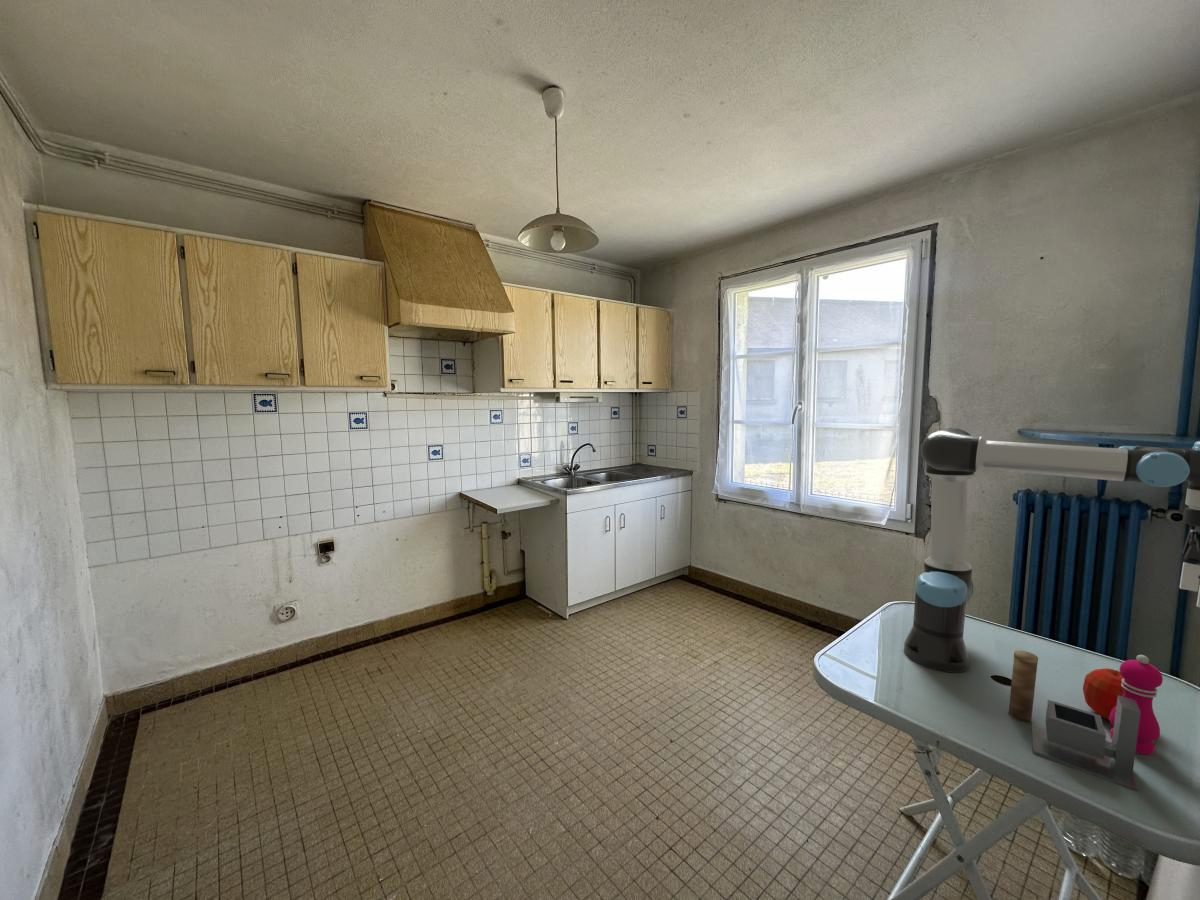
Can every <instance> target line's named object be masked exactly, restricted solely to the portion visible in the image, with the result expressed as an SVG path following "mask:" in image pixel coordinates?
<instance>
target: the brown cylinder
mask: <svg viewBox="0 0 1200 900" xmlns="http://www.w3.org/2000/svg"><path fill="white" fill-rule="evenodd" d="M1038 663H1039V657H1038V656H1037V655H1036V654H1034V653H1032V652H1030V651H1026V650H1021V649H1020V650H1019V649H1017V650H1014V651H1013V664H1012V674H1011V684H1010V693H1009V703H1008V704H1009V705H1008V715H1009V716H1010V717H1011V718H1012V719H1014V720H1016V721H1017V722H1022V723H1031V722H1032V719H1033V718H1032V717H1033V709H1034V708H1033V707H1034V698H1035V691H1036V680H1037V672H1038Z"/></svg>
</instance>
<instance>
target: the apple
mask: <svg viewBox="0 0 1200 900" xmlns="http://www.w3.org/2000/svg"><path fill="white" fill-rule="evenodd" d="M1122 679H1124V678H1123V676H1122V675H1121V673H1120V670H1117V669H1116V670H1115V669H1113V668H1098V669H1093V670H1092V671H1090V672H1089V673H1087V674H1085V677H1084V682H1083V684H1082V693H1083V696H1084V701H1085V703H1086V705H1087V706H1088V707H1089V708H1090V709H1091V710H1093V711H1094V712H1095V714H1097V715H1101V718H1104V719H1106V720H1108V721H1110V720H1109V716H1110V713H1111V711H1112V709H1113V708H1114V707H1115V706H1116V705H1117V698H1118V695H1119V696H1123V693H1124V688H1123V687H1122V686H1121V683H1122Z"/></svg>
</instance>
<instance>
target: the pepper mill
mask: <svg viewBox="0 0 1200 900" xmlns="http://www.w3.org/2000/svg"><path fill="white" fill-rule="evenodd" d="M1135 658H1136V659H1127V660H1124V661H1123V662H1122V663H1121V664H1120V666H1119V672H1120V673H1121V675H1122V676H1123V678H1124V679H1122V683H1121V686H1122V687H1123V688H1124V693H1123V697H1127V698H1130V699H1134V700H1136V702H1137V705H1138V707H1139V710H1140V712H1141V713H1140V721H1139V729H1138V736H1137V744H1136V751H1135V754H1136V753H1137V754H1141V755H1152V754H1154V752H1155V747H1156V745H1155V742H1154V741H1157V740H1159V738H1160V737H1161V727H1160V724H1159V721H1158V720H1157V717H1156V714H1155V712H1154V708H1153V699H1155V698H1156V697H1157V695H1158V694H1157V693H1158V689H1157V688H1158V687H1160V686H1162V685H1163V681H1164V680H1163V679H1164V678H1163V674H1162V672H1161V671H1160V670H1159V669H1158V668H1157V667H1156V666H1155V665H1153V664H1151V663H1150V659H1149V657H1147V656H1146V655H1144V654H1138V655H1137V656H1136V657H1135ZM1116 706H1117V705H1116ZM1116 706H1115V707H1114V708H1113V709H1112V711H1111V713H1110V716H1109V720H1108V721H1109V722H1110V724H1111V725H1112V726H1113V727H1112V728H1111V729H1110V735H1109V736H1110V739H1111V740H1112V738H1113V730H1114V722H1115V714H1116Z"/></svg>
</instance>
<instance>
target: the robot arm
mask: <svg viewBox="0 0 1200 900" xmlns="http://www.w3.org/2000/svg"><path fill="white" fill-rule="evenodd" d="M920 454H921V458H922V459H923V461H924V462H925V474H926V475H927V476H928V477H929V478H931V507H930V511H931V513H930V555H929V556H928V557H927V558H925V560H924V563H923V564H924V565H923V569H924V570H923V573H920V574H919V575H918V576H917V579H916V582H915V585H914V588H915V595H914V596H915V597H914V607H913V619H912V620H913V622H912V627H911V628H910V630H909V633H908V634H907V636H906V639H905V640H904V646H903V652H904V653H905V655H906V656H907V657H908V658H909V659H911V660H912V661H914V662H916V663H918V664H920V665H922V666H924V667H927V668H929V669H933V670H937V671H941V672H948V673H962V672H966V671H967V670H968V669H969V665H970V658H969V657H970V656H969V654H968V651H967V650H968V649H967V647H966V642H965V640H964V630H965V620H966V611H967V608H968V605H969V602H970V600H971V599H972V597H973V595H974V589H975V587H974V583H973V580H972V577H973V566H972V565H971V564H970V563H969V562H968V561H967V558H966V557H967V555H966V554H967V521H968V519H967V518H968V516H967V515H968V481H969V480H970V479H971V478H972V477H973V476H975V473H979V472H981V471H982V470H992V471H994V470H995V471H1001V472H1002V471H1003V472H1013V473H1014V472H1015V473H1024V474H1036V475H1037V474H1039V475H1046V476H1047V475H1048V476H1060V477H1070V478H1072V477H1073V478H1078V479H1079V478H1080V479H1081V478H1082V479H1092V480H1103V481H1113V482H1125V483H1134V484H1144V485H1145V484H1146V485H1148V486H1151V487H1157V488H1158V487H1159V488H1169V487H1174V486H1178V485H1180V484H1182V483H1183V482H1188V485H1187V487H1186V495H1185V496H1186V497H1185V501H1184V504H1185V505H1186V506H1187V507H1185V508H1184V510H1183V518H1182V522H1183V523H1184V524H1186V525H1189V530H1188V533H1187V537H1186V540H1185V543H1184V545H1183V548H1182V550H1181V554H1180V557H1181V558H1182V561H1183V562H1182V568H1181V574H1180V582H1179V590H1185V591H1186V590H1187V591H1191V592H1195V593H1196V592H1198V594H1197V601H1196V607H1197V608H1200V440H1198V441H1195V442H1194V444H1193V446H1192V448H1175V447H1174V448H1171V447H1155V446H1141V445H1133V446H1132V445H1121V446H1120V447H1118V448H1115V447H1102V446H1101V447H1100V446H1099V447H1098V446H1086V445H1085V446H1083V445H1064V444H1051V443H1050V444H1049V443H1033V442H1032V443H1031V442H1020V441H1019V442H1017V441H1016V442H1015V441H1002V440H988V439H986V438H984V436H982V435H971V434H970V433H969V432H968V431H966V430H963V429H961V428H953V427H950V428H949V427H948V428H943V429H940V430H937V431H934V432H931V433H930V434H929V435H927V436H926V437H925V439H924V440H923V441H922V443H921V446H920Z"/></svg>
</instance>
